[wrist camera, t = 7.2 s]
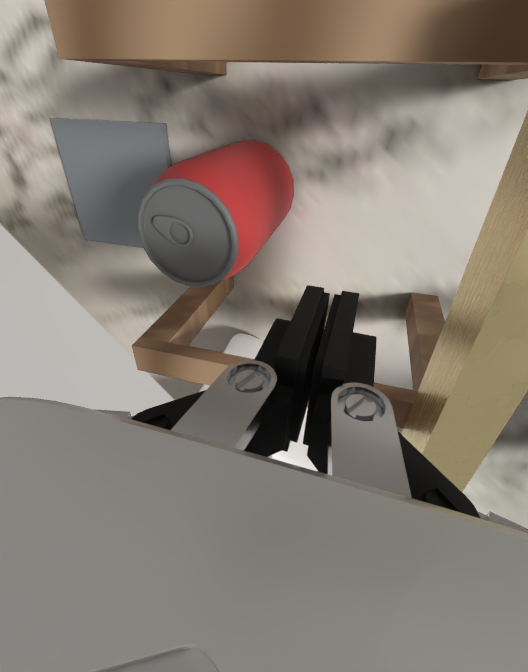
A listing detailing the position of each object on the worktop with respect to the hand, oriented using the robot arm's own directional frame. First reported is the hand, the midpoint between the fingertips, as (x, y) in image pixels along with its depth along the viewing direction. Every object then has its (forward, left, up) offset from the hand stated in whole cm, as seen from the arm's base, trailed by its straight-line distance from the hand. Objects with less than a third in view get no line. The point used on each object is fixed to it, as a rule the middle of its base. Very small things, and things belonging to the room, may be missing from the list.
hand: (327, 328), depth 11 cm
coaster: (+20, +1, -18) cm, 27 cm away
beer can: (+8, 0, -18) cm, 20 cm away
